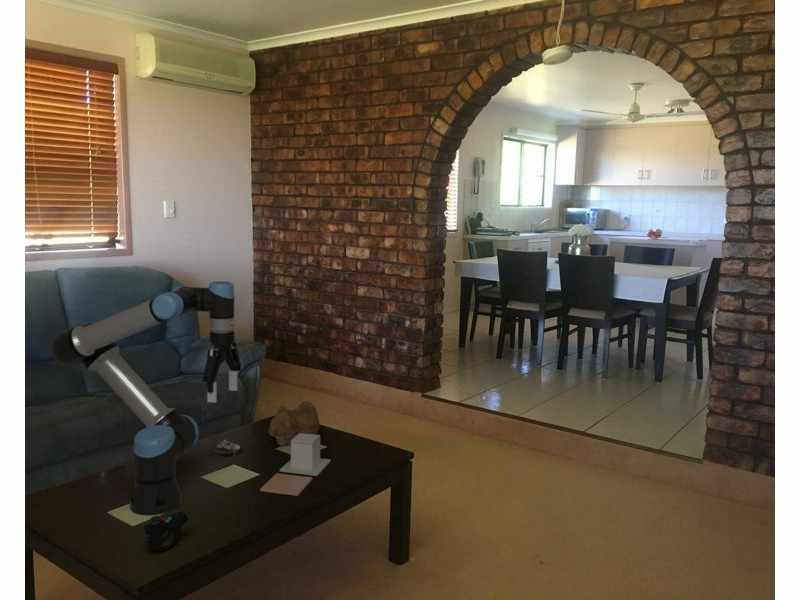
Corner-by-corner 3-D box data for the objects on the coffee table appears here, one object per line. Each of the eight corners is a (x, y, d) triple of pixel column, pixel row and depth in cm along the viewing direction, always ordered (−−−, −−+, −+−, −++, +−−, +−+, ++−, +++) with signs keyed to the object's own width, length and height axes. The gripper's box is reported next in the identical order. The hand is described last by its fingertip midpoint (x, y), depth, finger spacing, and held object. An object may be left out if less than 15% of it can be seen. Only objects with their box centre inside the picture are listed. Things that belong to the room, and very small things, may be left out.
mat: (317, 475, 225) (317, 474, 225) (279, 471, 228) (279, 469, 228) (330, 461, 239) (330, 459, 238) (295, 456, 242) (295, 455, 242)
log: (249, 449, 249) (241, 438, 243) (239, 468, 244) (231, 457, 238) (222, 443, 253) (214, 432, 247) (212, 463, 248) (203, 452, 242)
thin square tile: (297, 495, 209) (297, 493, 209) (260, 491, 212) (260, 488, 212) (312, 479, 222) (312, 477, 222) (276, 475, 225) (276, 473, 225)
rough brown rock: (294, 458, 242) (297, 420, 240) (261, 445, 251) (265, 408, 249) (333, 443, 262) (336, 407, 259) (302, 431, 270) (305, 396, 268)
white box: (312, 470, 229) (312, 442, 227) (290, 467, 230) (290, 440, 229) (320, 461, 236) (320, 435, 235) (299, 459, 238) (299, 433, 237)
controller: (142, 554, 172) (140, 519, 171) (181, 536, 182) (180, 502, 181) (152, 559, 170) (150, 523, 168) (191, 540, 180) (190, 506, 179)
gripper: (212, 338, 192) (213, 408, 195) (251, 324, 216) (251, 386, 219) (189, 337, 194) (191, 406, 197) (230, 323, 218) (231, 385, 221)
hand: (223, 396), depth 208 cm, fingers open, 13 cm apart
